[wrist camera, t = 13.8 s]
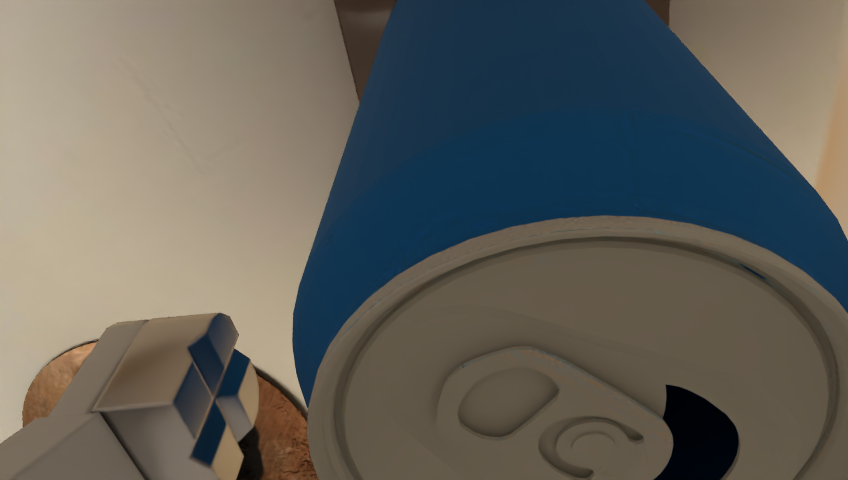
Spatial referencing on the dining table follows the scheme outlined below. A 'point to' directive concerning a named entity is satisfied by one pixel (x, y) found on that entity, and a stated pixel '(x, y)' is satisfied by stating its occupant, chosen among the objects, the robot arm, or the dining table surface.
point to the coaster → (365, 23)
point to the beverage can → (567, 264)
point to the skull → (261, 447)
